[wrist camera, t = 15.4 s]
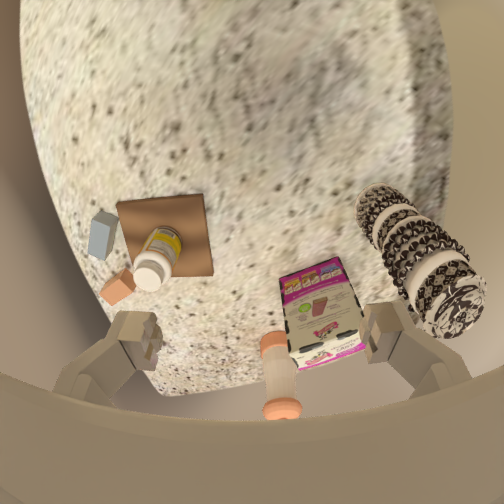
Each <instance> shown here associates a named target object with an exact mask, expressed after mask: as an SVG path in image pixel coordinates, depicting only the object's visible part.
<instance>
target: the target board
mask: <svg viewBox="0 0 504 504" xmlns="http://www.w3.org/2000/svg"><path fill="white" fill-rule="evenodd" d="M116 208H117V212H118V216H119V220H120V223H121V227H122V231H123V234H124V238H125V241H126V245H127V248H128V251H129V255H130V258H131V261H132V264H133V265H134V260H135V258H136V256H137V255H138V253H139V251H140V250H141V248H142V246H143V245H144V243H145V242H146V240H147V238H148V237H149V235H150V234H151V232H152V231H153V230H154V229H156V228H158V227H169V228H171V229H173V230H175V231H176V232H177V233H178V234H179V236H180V238H181V240H182V248H181V251H180V254H179V256H178V259H177V262H176V264H175V267H174V269H173V272H172V275H171V277H200V276H213V273H214V270H213V264H212V257H211V251H210V244H209V237H208V229H207V222H206V215H205V207H204V199H203V194H194V195H182V196H170V197H160V198H150V199H140V200H131V201H123V202H118V203H117V204H116Z"/></svg>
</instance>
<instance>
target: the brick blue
mask: <svg viewBox="0 0 504 504" xmlns="http://www.w3.org/2000/svg"><path fill="white" fill-rule="evenodd" d="M117 223H118V217H116V216H113V215H111V214H109V213H106V212H104V211H102V210H101V211H100V212H99V213H98V214H97V215H96V216H95V217H94V218H93V219H92V223H91V230H90V237H89V245H88V254H90V255H93V256H95V257H97V258H99V259H102V260H104V261H105V260H106V258H107V257H108V255H109V254H110V253H111V251H112V248H113V242H114V237H115V232H116V227H117Z"/></svg>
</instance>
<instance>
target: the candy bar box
mask: <svg viewBox="0 0 504 504" xmlns="http://www.w3.org/2000/svg"><path fill="white" fill-rule="evenodd" d="M279 284H280V292H281V299H282V306H283V313H284V322H285V330H286V337H287V346H288V353H289V356H290V357H291V359H292V360H293V361H294V363H295V364H296V365H297V368H298V369H299V371H301V370H304V369H307V368H310V367H313V366H317V365H320V364H323V363H326V362H329V361H332V360H335V359H338V358H341V357H343V356H346V355H349V354H352V353H355V352H357V351H360V350H362V349H365V348H366V346H365V345H364V344H363V343H362V342H361V340H360V335H359V325H360V320H361V319H362V318H363V317H364V313H363V311H362V308H361V306H360V304H359V301H358V299H357V297H356V294H355V292H354V290H353V287H352V285H351V283H350V281H349V278H348V276H347V274H346V272H345V269H344V267H343V265H342V262H341V260H340V258H339V257H335V258H333V259H330V260H327V261H325V262H322V263H320V264H317V265H315V266H312V267H310V268H307V269H304V270H302V271H299V272H297V273H294V274H291V275H288V276H286V277H283V278H280V279H279Z"/></svg>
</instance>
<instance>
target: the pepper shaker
mask: <svg viewBox="0 0 504 504" xmlns="http://www.w3.org/2000/svg"><path fill="white" fill-rule="evenodd" d="M261 358H262V359H263V373H264V378H265V382H266V393H267V394H266V396H267V403H265V405H264V407H263V410H262V411H263V415H264V417H265V418H266V419H267V420H281V419H296V418H298V417H299V416H300V414H301V412H302V406H301V404H300V402H299V401H298V400H297V397H296V386H295V381H296V380H295V379H296V364H295V363H294V361H293V360H292V359H291V357H290V356H289V353H288V346H287V337H286V332H283V331H275V332H271V333H268V334H267V335H265V336H264V337H263V338H262V339H261Z"/></svg>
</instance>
